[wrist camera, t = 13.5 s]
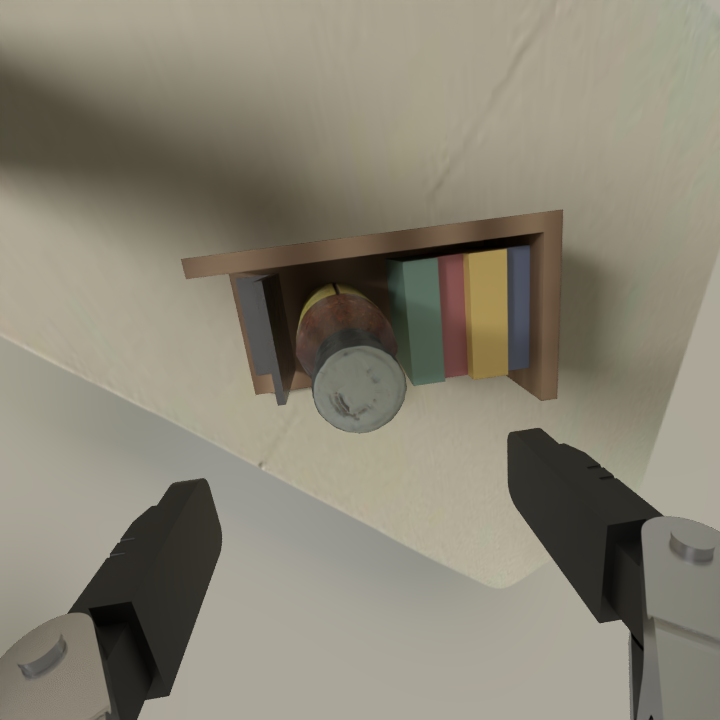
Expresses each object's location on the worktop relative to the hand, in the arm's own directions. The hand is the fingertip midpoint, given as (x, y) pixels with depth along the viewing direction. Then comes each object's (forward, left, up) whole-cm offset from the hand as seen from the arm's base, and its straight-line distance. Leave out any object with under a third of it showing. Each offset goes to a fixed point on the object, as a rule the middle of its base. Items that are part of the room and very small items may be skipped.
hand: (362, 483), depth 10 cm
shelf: (+3, 0, -27) cm, 28 cm away
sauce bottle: (0, 0, -26) cm, 26 cm away
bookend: (-7, 0, -26) cm, 27 cm away
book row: (+9, 0, -26) cm, 27 cm away
